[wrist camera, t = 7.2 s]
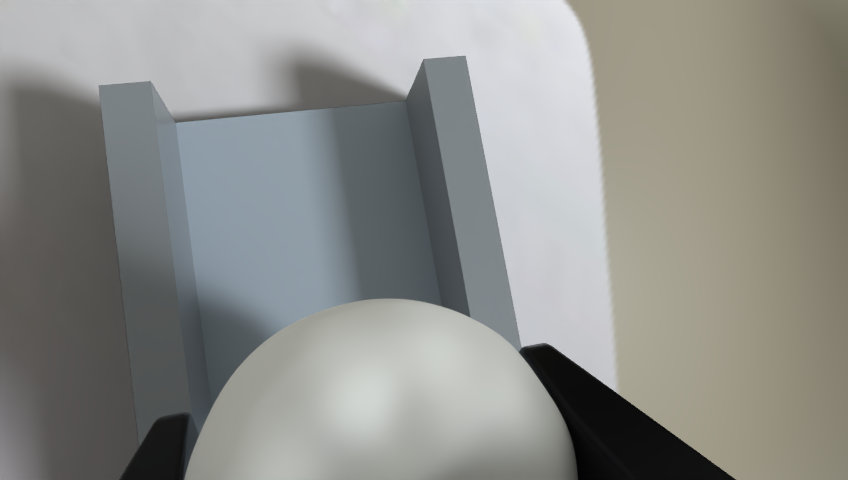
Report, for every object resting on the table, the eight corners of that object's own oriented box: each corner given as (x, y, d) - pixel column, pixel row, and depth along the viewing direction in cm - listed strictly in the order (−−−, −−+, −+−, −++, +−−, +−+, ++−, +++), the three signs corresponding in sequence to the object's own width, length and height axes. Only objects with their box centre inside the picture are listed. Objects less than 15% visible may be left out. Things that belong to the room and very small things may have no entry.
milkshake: (201, 515, 14) (-33, 911, 4) (291, 295, 15) (273, 208, 5) (386, 574, 14) (559, 1045, 5) (458, 358, 16) (714, 380, 6)
